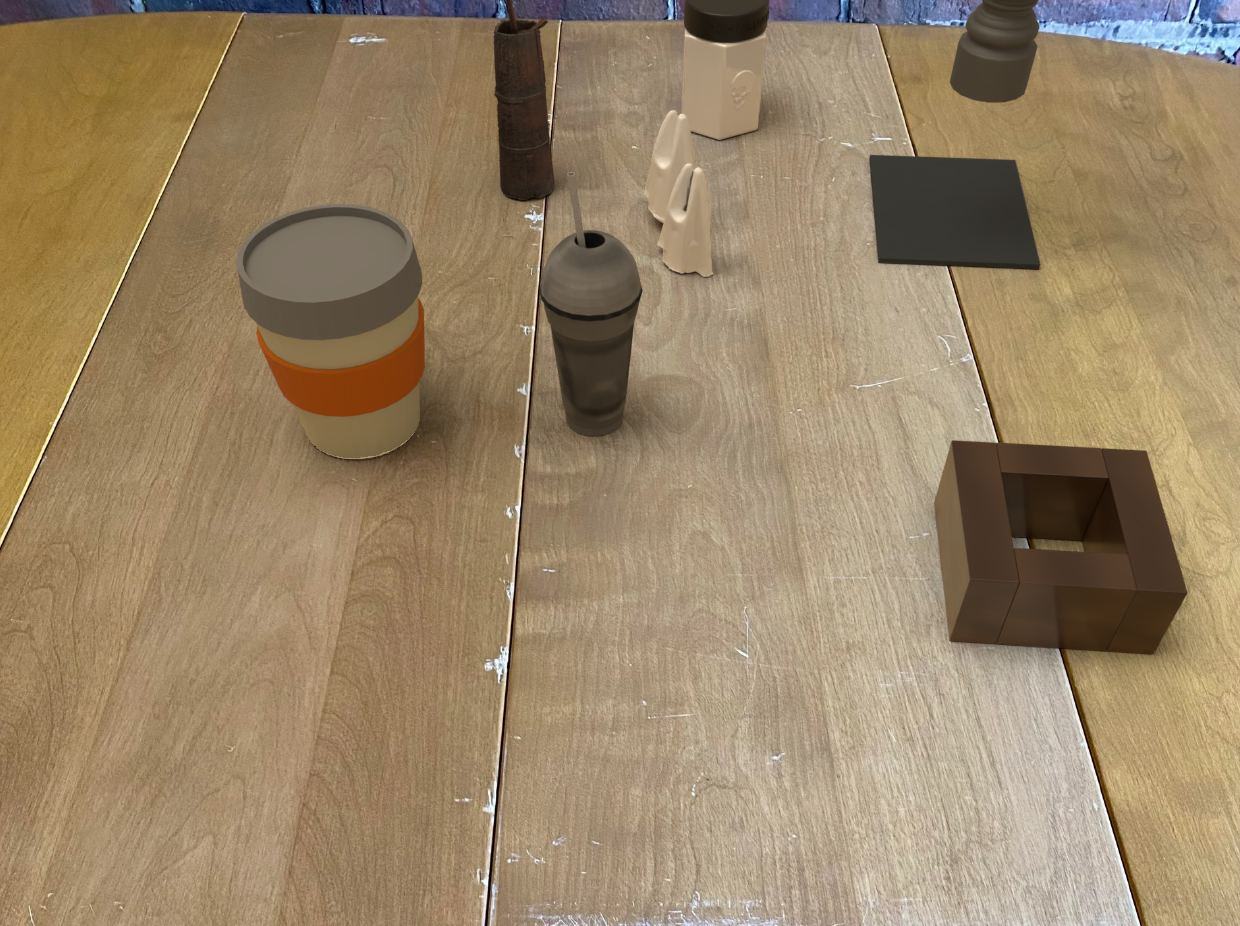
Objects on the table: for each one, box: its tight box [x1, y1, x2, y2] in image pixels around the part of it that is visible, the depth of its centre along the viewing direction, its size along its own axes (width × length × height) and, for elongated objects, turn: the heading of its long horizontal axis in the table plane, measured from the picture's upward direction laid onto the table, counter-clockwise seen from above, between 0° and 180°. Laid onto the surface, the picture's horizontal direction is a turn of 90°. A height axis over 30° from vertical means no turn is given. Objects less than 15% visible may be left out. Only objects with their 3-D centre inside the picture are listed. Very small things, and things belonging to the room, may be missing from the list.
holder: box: [933, 439, 1188, 655], centre depth 78 cm, size 13×13×6 cm
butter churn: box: [493, 0, 556, 201], centre depth 103 cm, size 9×10×28 cm
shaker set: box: [642, 109, 714, 278], centre depth 103 cm, size 12×4×11 cm, turn 10°
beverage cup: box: [539, 171, 643, 437], centre depth 84 cm, size 7×7×20 cm
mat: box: [868, 154, 1041, 270], centre depth 109 cm, size 14×18×1 cm
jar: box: [680, 0, 771, 141], centre depth 117 cm, size 9×8×12 cm
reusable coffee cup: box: [235, 203, 426, 458], centre depth 86 cm, size 12×13×15 cm
